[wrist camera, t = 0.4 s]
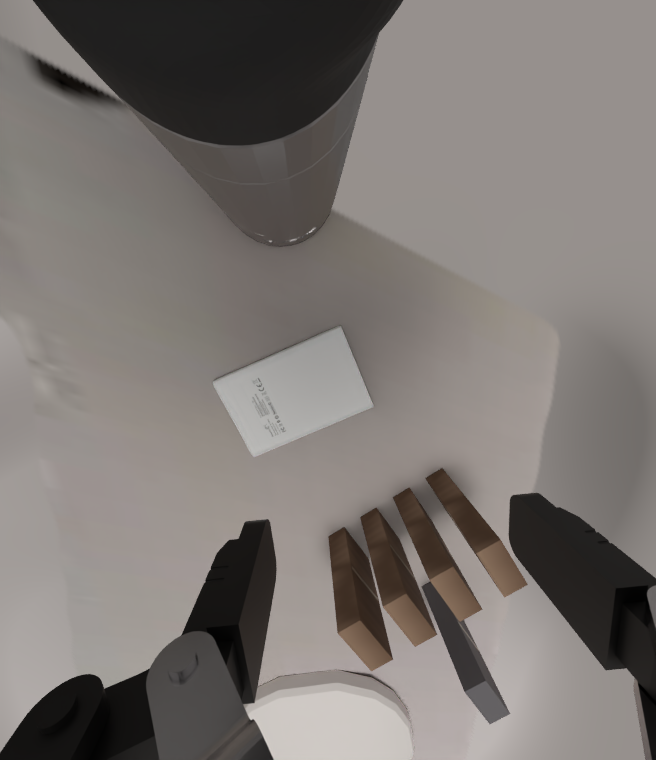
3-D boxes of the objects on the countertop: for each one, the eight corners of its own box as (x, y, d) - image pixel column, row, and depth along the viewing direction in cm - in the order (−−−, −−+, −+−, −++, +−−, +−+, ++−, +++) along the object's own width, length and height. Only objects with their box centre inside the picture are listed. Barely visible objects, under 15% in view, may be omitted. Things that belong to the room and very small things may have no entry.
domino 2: (384, 549, 34) (414, 646, 24) (360, 517, 33) (382, 606, 23) (399, 539, 34) (437, 634, 24) (376, 507, 33) (406, 593, 23)
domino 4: (415, 530, 34) (459, 621, 24) (392, 497, 33) (429, 580, 23) (431, 520, 34) (482, 609, 24) (409, 487, 32) (453, 566, 23)
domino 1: (352, 567, 35) (371, 671, 25) (328, 536, 33) (337, 633, 24) (368, 558, 34) (393, 659, 25) (344, 527, 33) (360, 620, 23)
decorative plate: (203, 720, 34) (428, 700, 35) (214, 675, 38) (416, 659, 39) (223, 858, 40) (415, 836, 41) (231, 807, 44) (405, 788, 45)
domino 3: (447, 512, 34) (504, 597, 24) (425, 478, 32) (476, 553, 23) (463, 502, 33) (527, 584, 24) (442, 468, 32) (500, 539, 23)
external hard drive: (371, 402, 31) (255, 451, 31) (339, 324, 29) (216, 378, 29) (374, 407, 29) (253, 459, 29) (341, 325, 27) (210, 382, 27)
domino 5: (441, 613, 37) (489, 724, 27) (421, 586, 36) (464, 691, 26) (456, 605, 37) (510, 713, 27) (437, 577, 36) (485, 680, 26)
